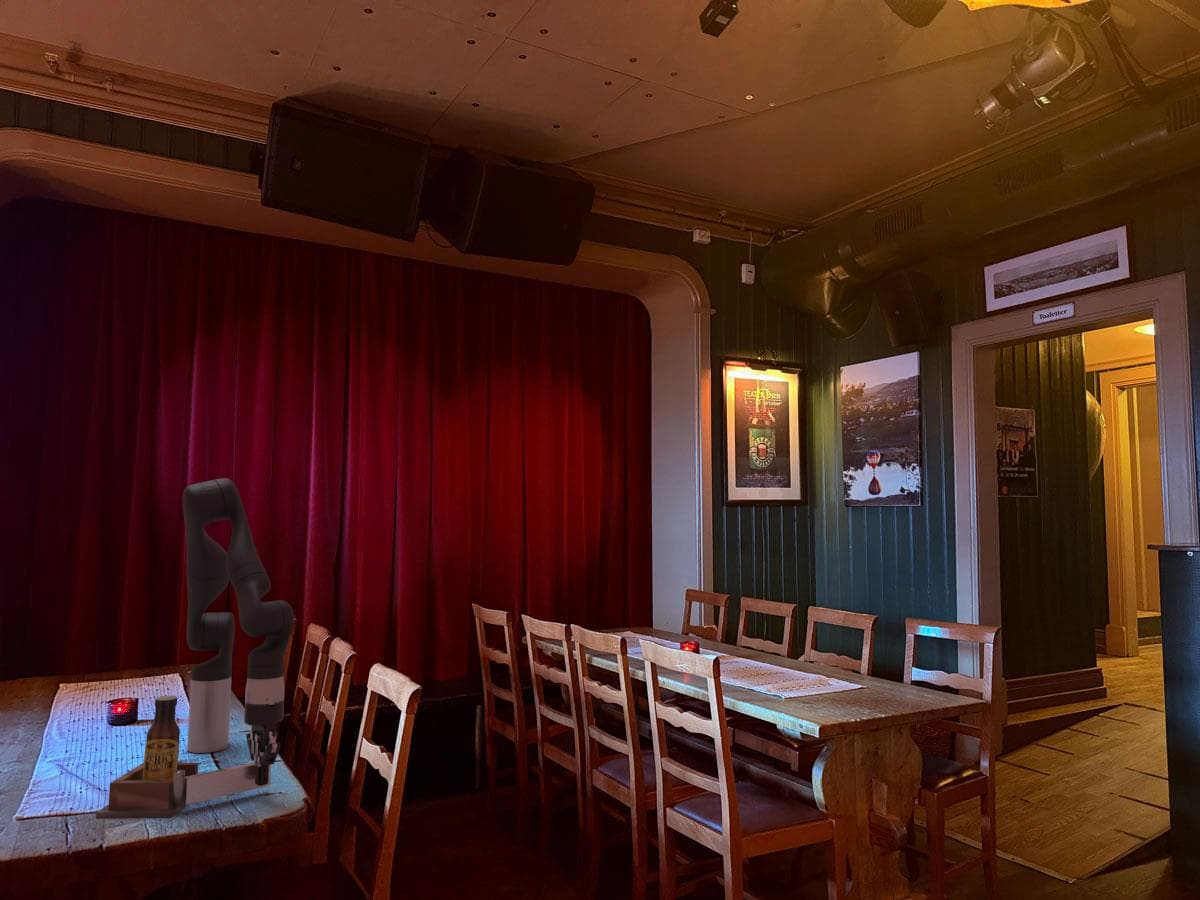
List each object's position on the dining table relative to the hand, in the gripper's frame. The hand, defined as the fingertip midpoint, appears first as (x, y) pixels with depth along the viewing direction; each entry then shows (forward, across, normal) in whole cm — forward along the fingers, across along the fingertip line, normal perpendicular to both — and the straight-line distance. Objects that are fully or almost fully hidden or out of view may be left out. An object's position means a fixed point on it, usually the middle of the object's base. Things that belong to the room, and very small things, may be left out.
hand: (261, 784), depth 169 cm
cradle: (+3, -11, -16) cm, 20 cm away
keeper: (+1, -3, -7) cm, 7 cm away
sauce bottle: (+2, -11, -16) cm, 20 cm away
